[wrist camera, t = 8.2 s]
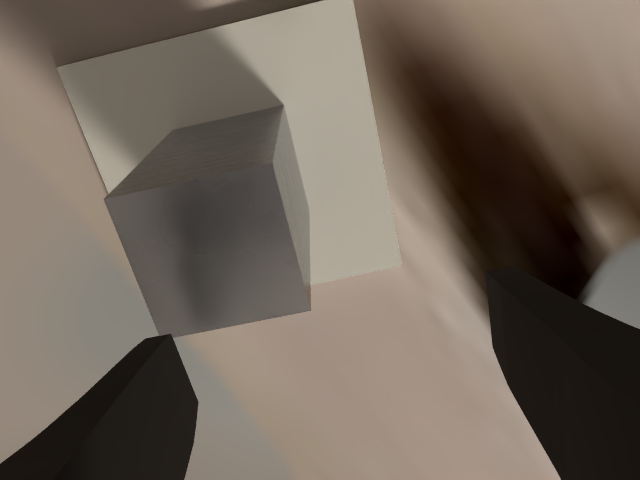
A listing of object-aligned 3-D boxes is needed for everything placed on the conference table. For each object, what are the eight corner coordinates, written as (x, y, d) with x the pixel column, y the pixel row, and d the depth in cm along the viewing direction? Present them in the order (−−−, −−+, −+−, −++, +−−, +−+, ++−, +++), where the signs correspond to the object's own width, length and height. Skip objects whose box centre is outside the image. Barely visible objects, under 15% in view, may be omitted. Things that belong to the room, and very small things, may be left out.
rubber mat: (350, -7, 18) (351, -7, 17) (399, 258, 22) (402, 265, 21) (63, 65, 18) (56, 67, 18) (163, 309, 22) (160, 317, 22)
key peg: (283, 104, 19) (272, 162, 12) (309, 210, 20) (311, 310, 14) (172, 129, 19) (103, 199, 12) (206, 232, 20) (161, 339, 14)
